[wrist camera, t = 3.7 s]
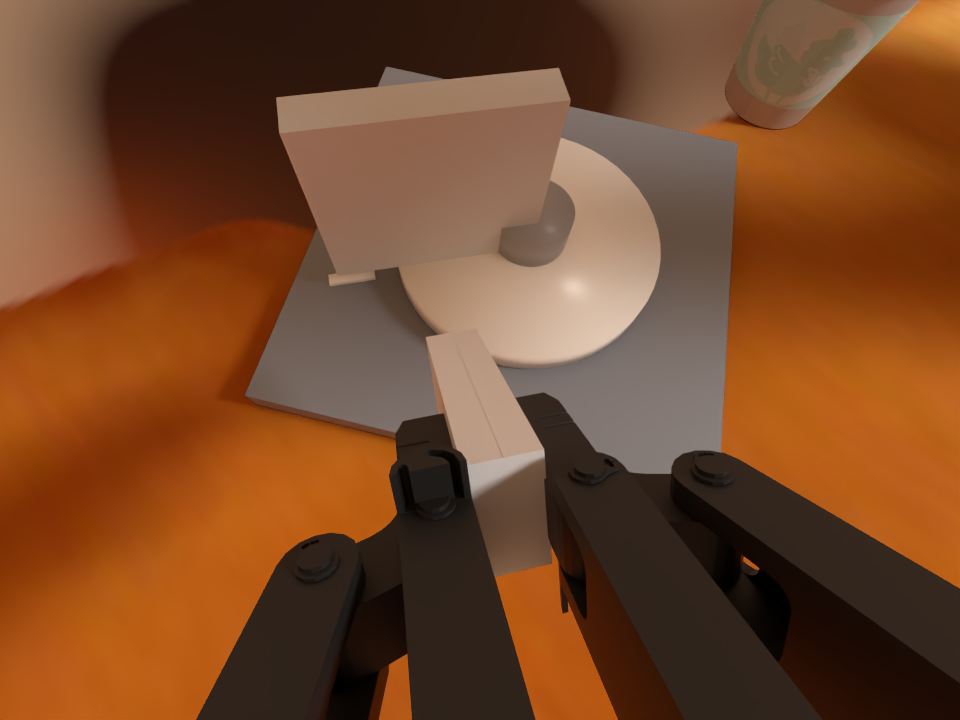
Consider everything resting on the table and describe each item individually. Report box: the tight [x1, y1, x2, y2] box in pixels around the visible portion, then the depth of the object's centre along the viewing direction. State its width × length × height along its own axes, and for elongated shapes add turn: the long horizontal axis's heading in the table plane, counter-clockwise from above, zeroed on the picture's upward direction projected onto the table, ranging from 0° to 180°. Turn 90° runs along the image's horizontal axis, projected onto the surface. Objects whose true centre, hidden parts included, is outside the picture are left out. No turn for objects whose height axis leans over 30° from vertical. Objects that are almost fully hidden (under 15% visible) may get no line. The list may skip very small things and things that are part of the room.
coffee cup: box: [725, 0, 920, 129], centre depth 30 cm, size 8×8×12 cm
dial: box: [276, 68, 661, 369], centre depth 23 cm, size 17×14×10 cm
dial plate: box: [245, 67, 738, 474], centre depth 28 cm, size 23×23×2 cm
